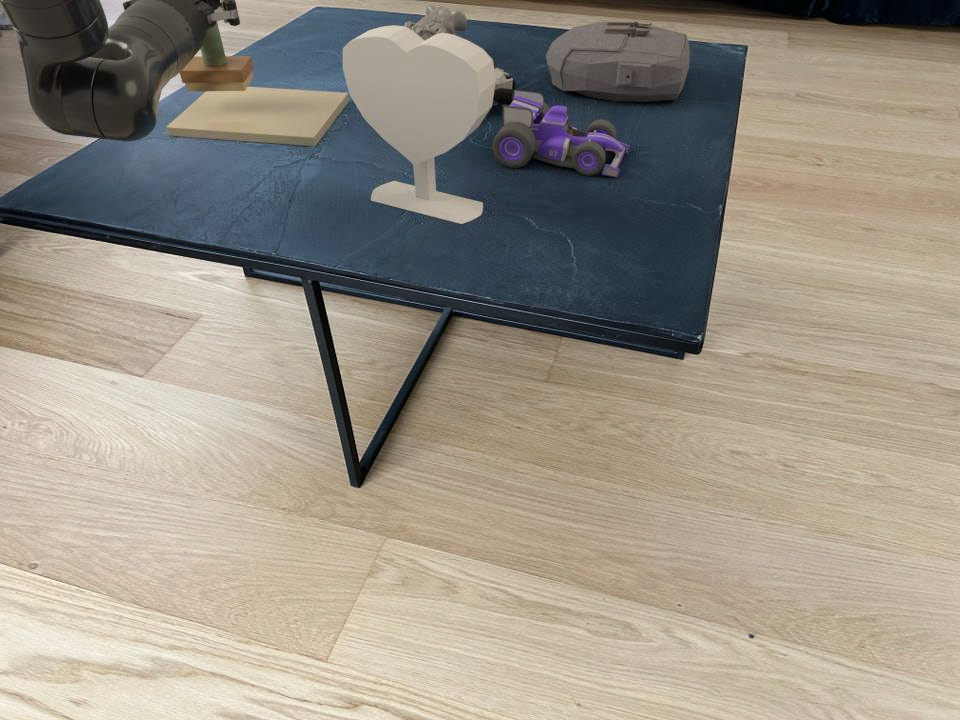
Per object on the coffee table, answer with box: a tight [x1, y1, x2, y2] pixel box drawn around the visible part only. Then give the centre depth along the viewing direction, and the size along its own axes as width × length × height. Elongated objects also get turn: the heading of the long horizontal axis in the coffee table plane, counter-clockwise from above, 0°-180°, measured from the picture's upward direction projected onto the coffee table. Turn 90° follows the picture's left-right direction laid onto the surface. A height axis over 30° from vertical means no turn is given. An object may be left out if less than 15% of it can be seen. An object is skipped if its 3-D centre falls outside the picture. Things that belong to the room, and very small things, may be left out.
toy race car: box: [492, 89, 631, 178], centre depth 89 cm, size 10×15×6 cm, turn 70°
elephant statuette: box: [403, 4, 468, 41], centre depth 112 cm, size 9×12×8 cm
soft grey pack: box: [545, 21, 691, 103], centre depth 105 cm, size 15×8×20 cm
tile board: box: [165, 86, 350, 147], centre depth 100 cm, size 20×14×1 cm
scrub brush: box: [179, 21, 254, 92], centre depth 94 cm, size 8×5×13 cm, turn 89°
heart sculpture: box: [342, 24, 496, 225], centre depth 78 cm, size 16×5×18 cm, turn 63°
